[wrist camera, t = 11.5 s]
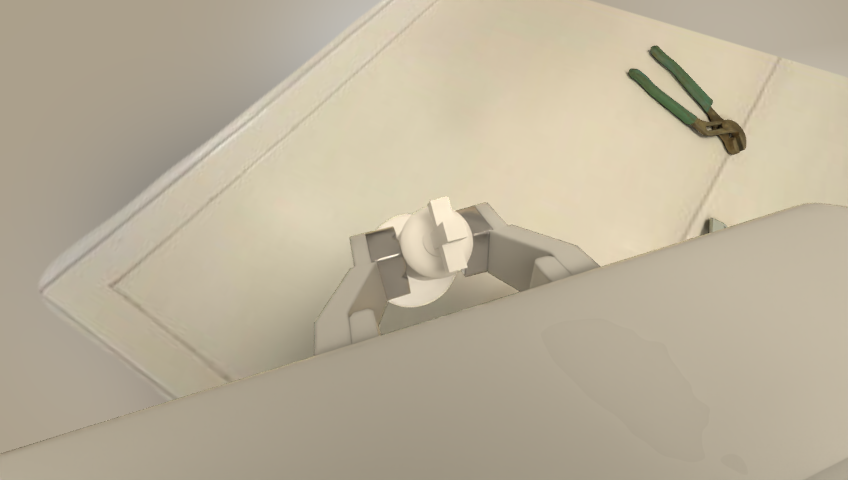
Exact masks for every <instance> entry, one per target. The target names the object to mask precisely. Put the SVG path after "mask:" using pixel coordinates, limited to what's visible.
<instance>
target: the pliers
mask: <svg viewBox="0 0 848 480" xmlns="http://www.w3.org/2000/svg"><path fill="white" fill-rule="evenodd" d="M650 51H651V54H652V55H653V56H654V57H655V58H656V59H657V60H658V61H659V62H660V63H662V64H663V65H664V66H666V67H667V68H668V69H669V70H670V71H671V72H672V73H673V74H674V75H675V76H676V77H677V79H678V80H679V81H680V82H681V84H682V85H683V86H684V87H685V88H686V89H687V91H688V92H689V93H690V94H691V95H692V96H693V97H694V98H695V99H696V101H697V102H698V103H699V104H700V105H701V106H702V108H703V109H704V110H705V111H706V112H707V114H708V115H709V117H710V120H711V122H706V121H702V120H700V119H698V118H697V117H696V116H695V115H693V114H692V113H691V112H689V111H688V110H686V109H685V108H684V107H683V106H681V105H680V104H678V103H677V102H676V101H674V100H673V99H672V98H670V97H669V96H668V95H666V94H665V93H664V92H662V91H661V90H660V89H659V88H658V87H657V86H656V85H654V84H653V83H652V82H651V80H650V79H649V78H648V77H647V76H646V75H645V74H643V73H642V72H641V71H639V70H638V69H630V70H629V75H630V77H632V78H633V79H635V80H636V81H637V82H638V83H639V84H640V85H642V87H643V88H644V89H645V90H646V91H647V92H648V93H649V94H650V95H651V96H653V97H654V98H655V99H656V100H657V101H659V102H660V103H661V104H662V105H664V106H665V107H666V108H667V109H669V110H670V111H671V112H672V113H673V114H675V115H676V116H677V117H678V118H680V119H681V120H682V121H683V122H684V123H686V124H688V125H692V126H693V127H694V128H696V129H697V130H698V131H699V132H700V133H701V134H702V135H707V136H712V135H718V136H719V137H720V138H721V139H722V140H723V142H724V143H725V146H726V148H727V150H728V152H730V153H731V154H732V155H734V154H737V153H739V152H740V151H742V150H745V148H746V136H745V133H744V131H743V130H742V128H741V127H740V126H739V125H738V124H737V123H736V122H734V121H732V120H723V119H722V118H721V117H720V116H719V115H718V114H717V113H716V112H715V111H714V110H713V109H712V107H711V105H712V103H713V100H712V99H711V98H710V97H708V95H707V94H706V93H705V92H704V91H703V90H702V89H701V88H700V87H699V86H698V85H697V84H696V83H695V81H694V80H693V79H692V78H691V77H690V76H689V75H688V74H687V73H686V72H685V71H684V70H683V69H682V68H681V67H680V66H679V65H678V64H677V63H676V62H675V61H674V60H672V59H671V58H670V57H669V56H667V55H666V54H665V53H664V52H663V51H662V50H661V49H660V48H659V47H658V46H652V47H651V50H650ZM707 126H713V130H709V131H707V129H706V127H707ZM729 133H732V135H733V138H730V137H729Z"/></svg>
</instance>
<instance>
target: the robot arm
mask: <svg viewBox="0 0 848 480" xmlns="http://www.w3.org/2000/svg"><path fill="white" fill-rule="evenodd" d="M456 212H458V213H459V214H460V215H461V216H462V217H463V218H464V219H465V220H466V222H467V223H468V225H469V227H470V229H471V232H472V236H473V249H472V253H471V256H470V258H469V260H468V262H467V267H468V268H464V269H461V271H462V273H463V274H464V276H465V277H468V276H472V275H476V274H479V273H483V272H487V271H488V273H490V274H491V275H493V276H495V277H496V278H498V279H500V280H502V281H503V282H505V283H507V284H508V285H510V286H512V287H514V288H515V289H517V290H519V291H520V292H518V293H515V294H512V295H508V296H505V297H502V298H499V299H496V300H492V301H489V302H486V303H483V304H480V305H476V306H473V307H470V308H467V309H464V310H460V311H457V312H454V313H451V314H448V315H444V316H441V317H438V318H435V319H432V320H428V321H425V322H422V323H419V324H416V325H412V326H409V327H406V328H403V329H400V330H396V331H393V332H390V333H387V334H384V335H381V333H380V330H379V324H380V321H381V318H382V316H383V313H384V310H385V308H386V305H387V301H388V300H391V299H394V298H397V297H401V296H404V295H407V294H410V293H411V291H410V286H409V280H408V277H407V274H406V264H405V259H404V256H403V254H402V251H401V246H400V243H399V240H397V237H396V232H395V230H394V227H393V226H392V227H388V228H383V229H379V230H375V231H370V232H366V233H362V234H358V235H354V236H350V244H351V250H352V256H353V262H354V267H353V268H350V269H349V271H348V272H347V274H346V275H345V277H344V278H343V280H342V281H341V283H340V284H339V286H338V287H337V289H336V290H335V292H334V293H333V295H332V296H331V298H330V299H329V301H328V302H327V304H326V305H325V307H324V309H323V310H322V312H321V313H320V315H319V316H318V318H317V319H316V321H315V322H314V356H313V357H310V358H306V359H303V360H300V361H297V362H294V363H290V364H287V365H284V366H281V367H278V368H274V369H271V370H268V371H265V372H262V373H258V374H255V375H252V376H249V377H245V378H242V379H239V380H236V381H233V382H229V383H226V384H223V385H220V386H217V387H213V388H210V389H207V390H204V391H200V392H197V393H194V394H191V395H188V396H184V397H181V398H178V399H175V400H172V401H168V402H165V403H162V404H159V405H156V406H152V407H149V408H146V409H143V410H139V411H136V412H133V413H130V414H127V415H124V416H120V417H117V418H114V419H111V420H107V421H104V422H101V423H98V424H94V425H91V426H88V427H85V428H82V429H78V430H75V431H72V432H69V433H66V434H62V435H59V436H56V437H53V438H49V439H46V440H43V441H40V442H37V443H33V444H30V445H27V446H24V447H20V448H18V449H14V450H11V451H7V452H4V453H1V454H0V480H848V207H845V206H839V205H832V204H823V203H806V204H801V205H797V206H794V207H791V208H788V209H784V210H781V211H778V212H775V213H772V214H768V215H765V216H762V217H759V218H756V219H752V220H749V221H746V222H743V223H740V224H736V225H733V226H730V227H727V228H724V229H720V230H717V231H714V232H711V233H708V234H704V235H701V236H698V237H695V238H691V239H688V240H685V241H682V242H679V243H675V244H672V245H669V246H666V247H663V248H659V249H656V250H653V251H650V252H647V253H643V254H640V255H637V256H634V257H630V258H627V259H624V260H621V261H618V262H614V263H611V264H608V265H605V266H602V267H600V266H599V265H598V264H597V263H596V262H595V261H594V260H593V259H592V258H590V257H589V256H588V255H587V254H586V253H585V252H584V251H583V250H581V249H580V248H579V247H578V246H576V245H573V244H570V243H567V242H564V241H561V240H558V239H555V238H552V237H549V236H546V235H543V234H539V233H536V232H533V231H530V230H527V229H524V228H521V227H518V226H515V225H509V226H508V225H507V224H506V222H505V221H504V220H503V219H502V218H501V217H500V216H499V215H498V214H497V213H496V212H495V211H494V209H493V208H492V207H491V206H490V205H489V204H488V203H486V202H484V203H480V204H477V205H473V206H471V207H468V208H464V209H460V210H456Z"/></svg>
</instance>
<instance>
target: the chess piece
mask: <svg viewBox="0 0 848 480" xmlns="http://www.w3.org/2000/svg"><path fill="white" fill-rule="evenodd" d="M427 206H428V207H424V208H422V209H420V210H418V211H416V212H415V213H409V214H401V215H398V216H395V217H392V218H390V219H388V220H387V221H385V222H384V223H382V224H381V225H380V226H379V227H378V228H377V229H376V230H379V229H383V228H388V227H392V226H393V227H394V230H395V232H396V237H397V240H399V243H400V246H401V251H402V254H403V256H404V259H405V264H406V274H407V277H408V280H409V286H410V291H411V293H410V294H407V295H404V296H401V297H397V298H394V299H391V300H388V302H390V303H392V304H395V305H398V306H402V307H419V306H424V305H427V304H429V303H431V302H433V301H435V300H436V299H438V298H439V297H441V296H442V295H443V294H444V293H445V292H446V291H447V290H448V288H449V287H450V286H451V284H452V282H453V280H454V278H455V275H456V273H457V272H459V271H460V270H461V269H464V268H468V267H467V262H468V260H469V258H470V256H471V253H472V249H473V236H472V232H471V229H470V227H469V225H468V223H467V222H466V220H465V219H464V218H463V217H462V216H461V215H460V214H459V213H458V212H456V211H454V210H453V209H452V208H451V205H450V201H449V198H448V196H447V197H442V198H438V199H433V200H430V201H429V203H428V205H427Z"/></svg>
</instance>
